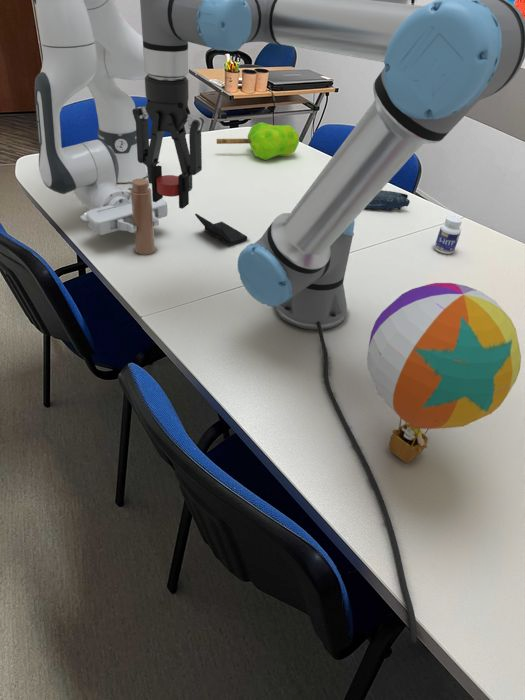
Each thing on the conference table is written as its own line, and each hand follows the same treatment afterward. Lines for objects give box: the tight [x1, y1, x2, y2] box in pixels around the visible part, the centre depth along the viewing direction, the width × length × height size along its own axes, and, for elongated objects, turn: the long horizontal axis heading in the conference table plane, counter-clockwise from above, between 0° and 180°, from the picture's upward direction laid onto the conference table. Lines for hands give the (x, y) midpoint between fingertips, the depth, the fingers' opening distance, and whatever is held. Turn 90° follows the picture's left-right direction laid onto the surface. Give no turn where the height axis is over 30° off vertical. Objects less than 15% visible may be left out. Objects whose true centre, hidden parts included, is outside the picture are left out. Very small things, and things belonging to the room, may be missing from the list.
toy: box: [366, 282, 522, 464], centre depth 73 cm, size 20×20×30 cm
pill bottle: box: [434, 215, 463, 255], centre depth 137 cm, size 5×5×9 cm
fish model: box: [364, 189, 411, 211], centre depth 158 cm, size 7×21×5 cm, turn 84°
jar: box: [130, 178, 156, 256], centre depth 123 cm, size 5×5×17 cm
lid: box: [156, 174, 179, 198], centre depth 103 cm, size 5×5×2 cm
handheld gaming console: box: [194, 213, 248, 246], centre depth 135 cm, size 12×7×10 cm
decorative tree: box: [216, 121, 300, 161], centre depth 186 cm, size 18×10×30 cm
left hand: (145, 226), depth 124 cm, fingers closed on jar, 5 cm apart
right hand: (170, 202), depth 105 cm, fingers closed on lid, 5 cm apart
